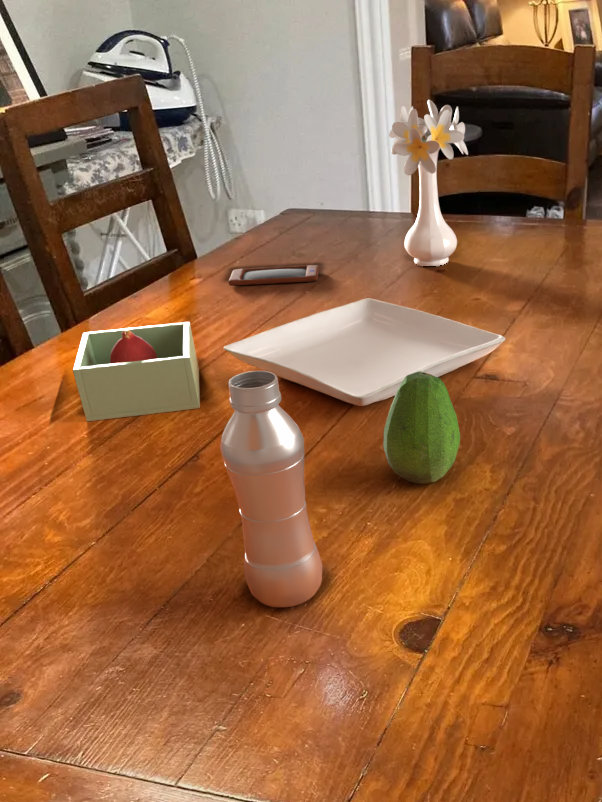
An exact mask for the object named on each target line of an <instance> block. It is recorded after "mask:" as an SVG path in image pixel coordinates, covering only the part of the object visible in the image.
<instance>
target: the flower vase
mask: <svg viewBox="0 0 602 802" xmlns="http://www.w3.org/2000/svg"><path fill="white" fill-rule="evenodd" d="M427 106H428V111H429V114H425V115H424V116H423V118H422V117H419V115H418V111H417V109H416V108H414V106H413V105H412V106H411V107H410V108H409V111H407V108H406V106H405V105H402V106H401V108H400V111H399V121H395V122H393V123H392V124H391V130H390V131H389V134H388V136H389V138H391V139H395V138H396V139H395V140H394V142H393V144H392V147H391V154H392V155H399V156H403V157H407V158H406V160H405V163H404V167H403V172H404V174H405V175H406V176H412V175H413V174H414V173H415V172H416V171H417V169H418V176H419V178H418V179H419V180H418V181H419V202H418V203H419V206H418V211H417V217H416V219H415V222H414V223H413V224H412V226H411V227H410V229H408V231H407V233H406V235H405V237H404V242H403V246H404V249H405V251H406V253H407V254H408V255H409V256H411V257H412V258H413V262H414V265H416V264H417V265H416V266H418V267H423V266H436V267H441V266H440V265H442V266H444V264H445V265H447V264H448V263H449V261H450V258H449V257H450V256H451V255H453V253H454V252H456V248H457V246H458V239H457V236H456V234H455V232H454V230H453V229H452V227H450V225H448V223H447V222H446V221H445V219H444V217H443V215H442V212H441V207H440V202H439V191H438V176H437V169H438V158H439V152H440V150H441V152H442V153H443V155H444V156H445V157H446V158H447V159H448V160H453V159H454V155H455V154H454V150H453V147H452V146H451V145H452V144H454V145H455V146H456V147H457V148H458V149H459V151H460V152H461V154H462V155H464V154H465V155H467V156H468V155H469V151H468V148H467V145H466V143H465V141H464V140H465V133H466V124H465V123H464V122H463V121H461V122H459V120H460V111H459V106H456V108H455V112H454V117H453V120H452V116H453V115H452V114H453V109H452V107H451V105H449V104H445V105H444V106H442V107H441V109H440V111H438V110H439V109H438V108H437V105H436V104H435V103H434V102H433V100H431V99H428V100H427ZM446 263H447V264H446Z"/></svg>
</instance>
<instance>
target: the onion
mask: <svg viewBox="0 0 602 802" xmlns="http://www.w3.org/2000/svg"><path fill="white" fill-rule="evenodd" d="M121 334H122V338H121V339H120V340H119V341H118V342H117V343H116V344H115V346H114V347H113V349H112V351H111V355H110V362H111V364H114V363H123V362H133V361H142V360H151V359H158V357H157V354H156V352H155V350H154V349H153V347H152V346H151V345H150V344H149V343H147V342H146V341H145V340H143V339H142V338H140V337H138V336H136V335H134V334H133V333H132V332H131V331H129V330H124V331H123V332H122V333H121Z"/></svg>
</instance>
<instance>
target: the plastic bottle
mask: <svg viewBox="0 0 602 802" xmlns="http://www.w3.org/2000/svg"><path fill="white" fill-rule="evenodd" d="M228 390H229V406H230V407H231V409H232V410H234V412H233V414H232V415H231V417H230V418H229V420H228V422H227V423H226V425H225V427H224V430H223V432H222V435H221V438H220V447H219V450H220V453H221V458H222V461H223V463H224V467H225V469H226V472H227V474H228V477H229V480H230V483H231V485H232V488H233V491H234V494H235V498H236V502H237V505H238V509H239V514H240V517H241V523H242V533H243V543H244V544H243V545H244V561H243V562H244V579H245V582H246V585H247V587H248V589H249V591H250V594H251V595H252V597H254V599H256V600H257V601H258V602H260V603H261V604H263V605H265V606H268V607H271V608H289V607H295V606H298V605H301V604H303V603H305V602H307V601H309V600H310V599H312V598H313V597H314V596H315V595H316V593H317V592H318V590H319V588H320V587H321V585H322V582H323V581H322V580H323V562H322V560H321V556H320V552H319V549H318V547H317V545H316V542H315V540H314V536H313V532H312V527H311V524H310V519H309V516H308V511H307V509H308V508H307V502H306V501H307V500H306V490H305V489H306V487H305V438H304V436H303V433H302V431H301V429H300V426H299V425H298V424H297V423H296V422H295V421H294V419H293V418H292V416H290V414H288V413H287V412H286V411H285V410H284V409H283V408H282V407H281V406H280V405H279V404H280V403H281V402H282V393H281V391H280V386H279V379H278V376H277V375H275V374H274V373H272V372H268V371H264V370H251V371H244V372H241V373H238V374H236V375H234V376H231V377H230V379H229V380H228Z"/></svg>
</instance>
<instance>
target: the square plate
mask: <svg viewBox="0 0 602 802" xmlns="http://www.w3.org/2000/svg"><path fill="white" fill-rule="evenodd" d="M505 341H506V337H505V336H503V335H501V334H497V333H494V332H491V331H488V330H485V329H481V328H478V327H475V326H472V325H468V324H465V323H462V322H459V321H457V320H456V321H455V320H453V319H450V318H446V317H444V316H440V315H437V314H432V313H429V312H427V311H426V312H425V311H422V310H419V309H414V308H411V307H408V306H403V305H399V304H395V303H391V302H387V301H382V300H378V299H374V298H363V299H359V300H357V301H354V302H350V303H347V304H343V305H340V306H336V307H333V308H329V309H326V310H323V311H320V312H317V313H314V314H310V315H307V316H304V317H302V318H299V319H296V320H293V321H290V322H287V323H285V324H282V325H279V326H276V327H273V328H271V329H268V330H265V331H263V332H262V331H261V332H260V333H257V334H254V335H252V336H249V337H247V338H243V339H241V340H238V341H235V342H232V343H230V344H227V345H224V346H223V350H224V351H226V352H227V353H229V354H230V355H232V356H233V357H234V358H235V359H237V360H238V361H240V362H242V363H244V364H246V365H248V366H250V367H253V368H256V369H259V370H261V371H268V372H272V373H274V374H275V375H276V376H277V377H279V378H281V379H284V380H287V381H290V382H292V383H295V384H298V385H301V386H302V387H303V386H304V387H306V388H308V389H311V390H314V391H317V392H319V393H322V394H324V395H327V396H330V397H332V398H335V399H338V400H340V401H343V402H345V403H349V404H352V405H354V406H358V407H365V406H369V405H370V404H373V403H377V402H382V401H384V400H387V399H390V398H392V397H395V395H396V393H397V390H398V388H399V386H400V384H401V382H402V381H403V380H404V378H405V377H406V376H407V375H410V374H412V373H415V372H419V371H422V372H426V373H429V374H431V375H433V376H436V377H438V378H440V377H441V376H443V375H446V374H448V373H451V372H453V371H455V370H457V369H459V368H461V367H463V366H466V365H468V364H470V363H472V362H474V361H477V360H479V359H481V358H483V357H486V356H488V355H489V354H491V353H492V352H493V351H495V350H496V349H498V348H499V347H500V346H501V344H502V343H504V342H505Z"/></svg>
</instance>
